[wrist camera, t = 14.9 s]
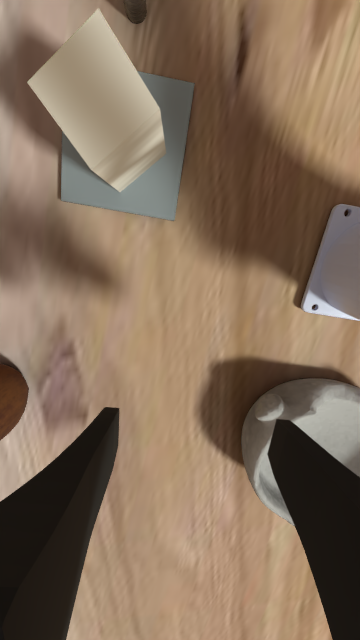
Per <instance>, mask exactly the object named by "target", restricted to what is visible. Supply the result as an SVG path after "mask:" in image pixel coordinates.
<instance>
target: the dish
mask: <svg viewBox="0 0 360 640" xmlns="http://www.w3.org/2000/svg"><path fill="white" fill-rule="evenodd" d="M276 419H284V420H290V421H292V422H293V423H294V424H295V425H297V426H298V427H299V428H300V429H301V430H303V431H304V432H305V433H306V434H307V435H308V436H310V437H311V438H312V439H313V440H314V441H315V442H317V443H318V444H319V445H320V446H321V447H322V448H324V449H325V450H326V451H327V452H328V453H330V454H331V455H332V456H333V457H335V458H336V459H337V460H338V461H339V462H341V463H342V464H343V465H344V466H346V467H347V468H348V469H350V470H351V471H352V472H354V473H355V474H356V475H357V476H359V477H360V388H358V387H355V386H353V385H350V384H347V383H344V382H340V381H336V380H330V379H320V378H307V379H298V380H293V381H289V382H286V383H283V384H280V385H278V386H275V387H274V388H272V389H271V390H269V391H267V392H266V393H265V394H263V395H262V396H261V397H260V398H259V399H258V400H257V401H256V402H255V403H254V404H253V406H252V407H251V409H250V410H249V412H248V414H247V416H246V418H245V421H244V424H243V428H242V436H241V446H242V456H243V461H244V465H245V469H246V472H247V475H248V478H249V480H250V482H251V485H252V487H253V489H254V491H255V493H256V494H257V496H258V497H259V499H260V500H261V501H262V503H263V504H264V505H265V506H267V507H268V508H269V509H270V510H271V511H273V512H274V513H276V514H277V515H279V516H280V517H282V518H283V519H285V520H287V521H288V522H289V523H290V524H292V525H293V526H295V525H294V523H293V521H292V518H291V516H290V514H289V511H288V509H287V507H286V504H285V502H284V500H283V497H282V495H281V493H280V490H279V488H278V485H277V483H276V481H275V478H274V475H273V472H272V469H271V465H270V462H269V458H268V455H267V453H268V450H269V446H270V442H271V438H272V434H273V430H274V427H275V423H276Z"/></svg>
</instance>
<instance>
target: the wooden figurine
mask: <svg viewBox="0 0 360 640" xmlns="http://www.w3.org/2000/svg"><path fill="white" fill-rule="evenodd" d="M28 390H29V388H28V385H27V383H26V380H25V379H24V377H23V376H22V375H21V373H20V372H18V371H17V370H15V369H14V368H12V367H10V366H7V365H3V364H0V440H1V439H3V438H4V437H5V436H6V435H7V434H8V433H9V432H10V431H11V430H12V429H13V428H14V427H15V426H16V424H17V423H18V422H19V420H20V418H21V416H22V415H23V413H24V410H25V407H26V404H27V398H28Z"/></svg>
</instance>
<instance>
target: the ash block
mask: <svg viewBox="0 0 360 640" xmlns="http://www.w3.org/2000/svg"><path fill="white" fill-rule="evenodd" d="M27 83H28V84H29V86H30V87H31V88H32V90H33V91H34V92H35V94H36V95H37V96H38V98H39V99H40V101H41V102H42V103H43V105H44V106H45V107H46V109H47V110H48V112H49V113H50V114H51V116H52V117H53V118H54V120H55V121H56V122H57V124H58V125H59V127H60V128H61V129H62V131H63V132H64V133H65V135H66V136H67V138H68V139H69V140H70V142H71V143H72V144H73V146H74V147H75V148H76V150H77V151H78V153H79V154H80V155H81V157H82V158H83V159H84V161H85V162H86V164H87V165H88V166H89V168H90V169H91V170H92V171H93V172H94V173H96V174H97V175H98V176H100V177H101V178H102V179H103V180H105V181H106V182H107V183H109V184H110V185H111V186H112V187H114V188H115V189H116V190H117V191H119V192H121V191H122V190H124V189H125V188H126V187H127V186H128V185H130V184H131V183H132V182H133V181H134V180H136V179H137V178H138V177H139V176H140V175H141V174H143V173H144V172H145V171H146V170H147V169H149V168H150V167H151V166H152V165H153V164H154V163H156V162H157V161H158V160H159V159H160V158H162V157H163V156H164V155H165V154H166V147H165V140H164V133H163V126H162V119H161V112H160V108H159V106H158V105H157V103H156V101H155V100H154V98H153V97H152V95H151V93H150V92H149V90H148V88H147V87H146V85H145V83H144V82H143V80H142V79H141V77H140V75H139V74H138V72H137V70H136V69H135V67H134V66H133V64H132V62H131V61H130V59H129V57H128V56H127V54H126V52H125V51H124V49H123V48H122V46H121V44H120V43H119V41H118V39H117V38H116V36H115V34H114V33H113V31H112V30H111V28H110V26H109V25H108V23H107V21H106V20H105V18H104V17H103V15H102V13H101V12H100V10H99V8H98V9H97V10H96V11H95V12H94V13H93V14H92V15H91V17H90V18H89V19H88V20H87V21H86V22H85V23H84V24H83V25H82V26H81V27H80V28H79V29H78V30H77V31H76V32H75V33H74V34H73V35H72V36H71V37H70V38H69V39H68V40H67V41H66V42H65V43H64V44H63V46H62V47H61V48H60V49H59V50H58V51H57V52H56V53H55V54H54V55H53V56H52V57H51V58H50V59H49V60H48V61H47V62H46V63H45V64H44V65H43V66H42V67H41V68H40V69H39V70H38V71H37V72H36V73H35V74H34V76H33V77H32V78H31V79H30V80H29V81H28V82H27Z"/></svg>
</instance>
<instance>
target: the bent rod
mask: <svg viewBox="0 0 360 640" xmlns="http://www.w3.org/2000/svg"><path fill="white" fill-rule="evenodd" d="M124 4H125V9H126V13H127V16H128V18H129V20H130V21H131V22H133V23H136V24H138V23H141V22H142V21H143V20H144V19H145V17H146V13H147V9H146V1H145V0H124Z"/></svg>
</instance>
